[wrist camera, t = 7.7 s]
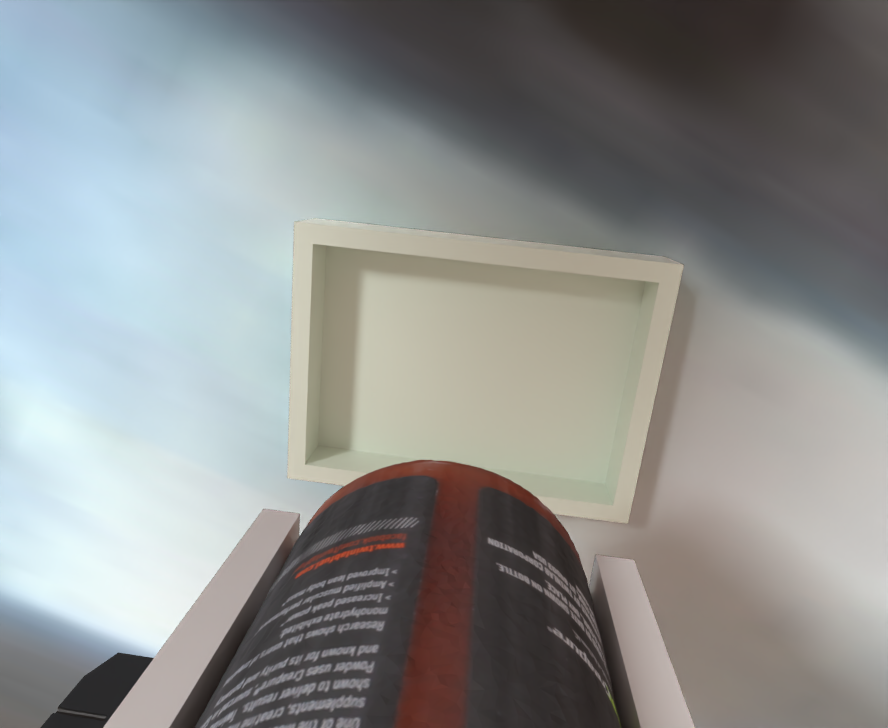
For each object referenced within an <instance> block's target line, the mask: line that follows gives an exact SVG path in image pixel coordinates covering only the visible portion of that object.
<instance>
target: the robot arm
mask: <svg viewBox="0 0 888 728" xmlns="http://www.w3.org/2000/svg"><path fill="white" fill-rule="evenodd" d="M299 523H300V514H299V513H291V512H284V511H277V510H270V509H263V510H262V511H261V513H260V514H259V515H258V517H257V518H256V520H255V521H254V522H253V524H252V525H251V526H250V528H249V529H248V531H247V532H246V533H245V535H244V536H243V537H242V539H241V540H240V541H239V543H238V544H237V546H236V547H235V548H234V550H233V551H232V552H231V554H230V555H229V556H228V558H227V559H226V561H225V562H224V563H223V565H222V566H221V567H220V569H219V570H218V571H217V573H216V574H215V576H214V577H213V578H212V580H211V581H210V582H209V584H208V585H207V586H206V588H205V589H204V591H203V592H202V593H201V595H200V596H199V597H198V599H197V600H196V601H195V603H194V604H193V606H192V607H191V608H190V610H189V611H188V612H187V614H186V615H185V617H184V618H183V619H182V621H181V622H180V623H179V625H178V626H177V627H176V629H175V630H174V632H173V633H172V634H171V636H170V637H169V638H168V640H167V641H166V642H165V644H164V645H163V647H162V648H161V649H160V651H159V652H158V653H157V655H156V656H155V657H154V658H149V657H143V656H136V655H130V654H123V653H117V654H116V655H114V656H113V657H111V658H110V659H109V660H107V661H106V662H104V663H103V664H101V665H100V666H98V667H97V668H96V669H94V670H93V671H91V672H90V673H88V674H87V675H85V676H84V677H83V678H82V679H81V681H80V682H79V683H78V684H77V685H76V686H75V688H74V689H73V690H72V691H71V692H70V694H69V695H68V696H67V697H66V698H65V699H64V701H63V702H62V703H61V704H60V705H59V707H58V710H57V712H56V713H53V714H52V715H51V716H50V717H49V718H48V719H47V721H46V722H45V723H44V724H43V725H42V727H41V728H194V727H195V726H196V724H197V722H198V720H199V718H200V716H201V715H202V713H203V712H204V710H205V708H206V706H207V704H208V702H209V700H210V699H211V697H212V695H213V693H214V691H215V690H216V688H217V686H218V685H219V683H220V681H221V679H222V677H223V675H224V673H225V671H226V670H227V668H228V666H229V664H230V662H231V660H232V659H233V657H234V656H235V654H236V652H237V649H238V647H239V645H240V644H241V643H242V641H243V639H244V637H245V635H246V633H247V631H248V629H249V627H250V626H251V624H252V623H253V621H254V619H255V617H256V615H257V613H258V611H259V609H260V607H261V606H262V604H263V602H264V601H265V599H266V597H267V594H268V592H269V590H270V588H271V586H272V584H273V583H274V581H275V579H276V578H277V576H278V574H279V573H280V571H281V569H282V567H283V565H284V563H285V561H286V559H287V558H288V556H289V554H290V552H291V550H292V548H293V546H294V544H295V543H296V541H297V539H298V538H299ZM589 590H590V593H591V597H592V601H593V606H594V611H595V616H596V620H597V624H598V629H599V633H600V636H601V641H602V645H603V649H604V654H605V657H606V661H607V667H608V672H609V676H610V679H611V684H612V688H613V692H614V697H615V703H616V707H617V710H618V714H619V719H620V725H621V728H695V726H694V724H693V721H692V718H691V715H690V712H689V710H688V707H687V704H686V701H685V699H684V696H683V693H682V690H681V688H680V685H679V682H678V679H677V677H676V674H675V671H674V668H673V666H672V663H671V660H670V657H669V654H668V652H667V649H666V646H665V643H664V641H663V638H662V635H661V632H660V630H659V627H658V624H657V621H656V619H655V616H654V613H653V610H652V608H651V605H650V602H649V599H648V596H647V594H646V591H645V588H644V585H643V583H642V580H641V577H640V574H639V572H638V569H637V566H636V563H635V561H634V560H631V559H624V558H617V557H609V556H602V555H595V560H594V565H593V570H592V575H591V580H590V585H589Z"/></svg>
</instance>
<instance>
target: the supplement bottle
mask: <svg viewBox="0 0 888 728" xmlns="http://www.w3.org/2000/svg"><path fill="white" fill-rule="evenodd" d="M194 728H621V725H620V719H619V714H618V710H617V707H616V703H615V697H614V692H613V688H612V684H611V679H610V676H609V672H608V667H607V661H606V657H605V654H604V649H603V645H602V641H601V636H600V633H599V629H598V624H597V620H596V616H595V611H594V606H593V601H592V597H591V593H590V590H589V587H588V583H587V578H586V576H585V573H584V570H583V568H582V565H581V561H580V558H579V554H578V552H577V551H576V549H575V546H574V543H573V542H572V540H571V539H570V537H569V534H568V533H567V531H566V530H565V528H564V527H563V526H562V524H561V523H560V522H559V521H558V519H557V518H556V517H555V515H554V514H553V513H552V512H551V510H550V509H549V508H548V507H546V506H545V505H544V504H543V503H542V502H541V501H540V500H539V499H538V498H537V497H536V496H534V495H533V494H532V493H531V492H529V491H528V490H526V489H524V488H523V487H522V486H520V485H518V484H516V483H514V482H513V481H511V480H510V479H507V478H505V477H503V476H501V475H498V474H496V473H494V472H491V471H488V470H485V469H482V468H478V467H475V466H471V465H466V464H461V463H456V462H452V461H434V460H415V461H411V462H403V463H400V464H394V465H391V466H387V467H384V468H381V469H378V470H375V471H373V472H370V473H368V474H366V475H363V476H361V477H359V478H357V479H355V480H354V481H352V482H351V483H349V484H347V485H346V486H344V487H343V488H341V489H340V490H339V491H337V492H336V493H335V494H333V495H332V496H331V497H330V498H329V499H327V500H326V501H325V502H324V504H323V505H322V506H321V507H320V508H319V510H318V511H317V512H316V513H315V515H314V516H313V517H312V519H311V520H310V522H309V523H308V525H307V527H306V528H305V529H304V530H303V532H302V533H301V535H300V537H299V538H298V539H297V541H296V543H295V544H294V546H293V548H292V550H291V552H290V554H289V556H288V558H287V559H286V561H285V563H284V565H283V567H282V569H281V571H280V573H279V574H278V576H277V578H276V579H275V581H274V583H273V584H272V586H271V588H270V590H269V592H268V594H267V597H266V599H265V601H264V602H263V604H262V606H261V607H260V609H259V611H258V613H257V615H256V617H255V619H254V621H253V623H252V624H251V626H250V627H249V629H248V631H247V633H246V635H245V637H244V639H243V641H242V643H241V644H240V645H239V647H238V649H237V652H236V654H235V656H234V657H233V659H232V660H231V662H230V664H229V666H228V668H227V670H226V671H225V673H224V675H223V677H222V679H221V681H220V683H219V685H218V686H217V688H216V690H215V691H214V693H213V695H212V697H211V699H210V700H209V702H208V704H207V706H206V708H205V710H204V712H203V713H202V715H201V716H200V718H199V720H198V722H197V724H196V726H195V727H194Z"/></svg>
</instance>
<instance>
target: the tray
mask: <svg viewBox="0 0 888 728" xmlns="http://www.w3.org/2000/svg"><path fill="white" fill-rule="evenodd" d="M683 267H684V265H683V264H681V263H679V262H676V261H674V260H671V259H669V258H667V257H664V256H655V255H646V254H637V253H628V252H618V251H609V250H600V249H591V248H582V247H573V246H564V245H555V244H546V243H537V242H528V241H518V240H509V239H500V238H491V237H482V236H473V235H464V234H455V233H446V232H437V231H427V230H418V229H409V228H400V227H391V226H382V225H373V224H364V223H355V222H346V221H337V220H327V219H318V218H313V219H307V220H301V221H296V222H294V247H293V284H292V322H291V359H290V397H289V434H288V472H287V478H290V479H297V480H305V481H312V482H320V483H327V484H335V485H342V486H346V485H347V484H349V483H351V482H352V481H354V480H355V479H357V478H359V477H361V476H363V475H366V474H368V473H370V472H373V471H375V470H378V469H381V468H384V467H387V466H391V465H394V464H400V463H403V462H411V461H415V460H434V461H452V462H456V463H461V464H466V465H471V466H475V467H478V468H482V469H485V470H488V471H491V472H494V473H496V474H498V475H501V476H503V477H505V478H507V479H510V480H511V481H513V482H514V483H516V484H518V485H520V486H522V487H523V488H524V489H526V490H528V491H529V492H531V493H532V494H533V495H534V496H536V497H537V498H538V499H539V500H540V501H541V502H542V503H543V504H544V505H545V506H546V507H548V508H549V509H550V510H551V512H552V513H553V514H558V515H565V516H572V517H580V518H587V519H595V520H602V521H610V522H617V523H625V524H628V521H629V516H630V512H631V507H632V502H633V498H634V493H635V489H636V484H637V479H638V475H639V470H640V466H641V461H642V456H643V452H644V447H645V443H646V438H647V433H648V429H649V424H650V420H651V415H652V410H653V406H654V401H655V396H656V392H657V387H658V383H659V378H660V373H661V369H662V364H663V360H664V355H665V350H666V346H667V341H668V337H669V332H670V327H671V323H672V318H673V313H674V309H675V304H676V300H677V295H678V290H679V286H680V281H681V277H682V272H683Z"/></svg>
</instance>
